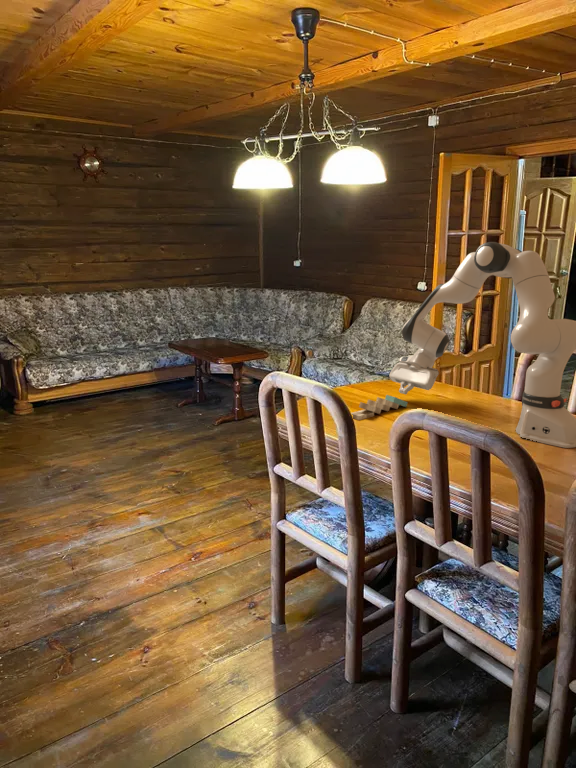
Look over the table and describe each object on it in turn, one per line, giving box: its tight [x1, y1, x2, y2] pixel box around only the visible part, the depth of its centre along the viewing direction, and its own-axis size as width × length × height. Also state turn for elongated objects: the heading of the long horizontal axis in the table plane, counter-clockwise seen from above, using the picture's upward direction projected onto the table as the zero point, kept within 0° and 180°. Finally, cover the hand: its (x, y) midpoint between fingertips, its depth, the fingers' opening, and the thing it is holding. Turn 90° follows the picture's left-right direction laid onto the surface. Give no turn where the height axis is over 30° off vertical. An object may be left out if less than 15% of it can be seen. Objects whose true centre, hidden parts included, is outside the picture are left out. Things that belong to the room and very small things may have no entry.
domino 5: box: [384, 394, 408, 408], centre depth 232 cm, size 5×2×8 cm
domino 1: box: [350, 409, 375, 421], centre depth 221 cm, size 5×2×8 cm
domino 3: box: [366, 399, 391, 412], centre depth 227 cm, size 5×2×8 cm
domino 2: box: [358, 401, 382, 415], centre depth 223 cm, size 5×2×8 cm
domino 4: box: [375, 396, 400, 410], centre depth 230 cm, size 5×2×8 cm
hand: (402, 392), depth 233 cm, fingers closed
